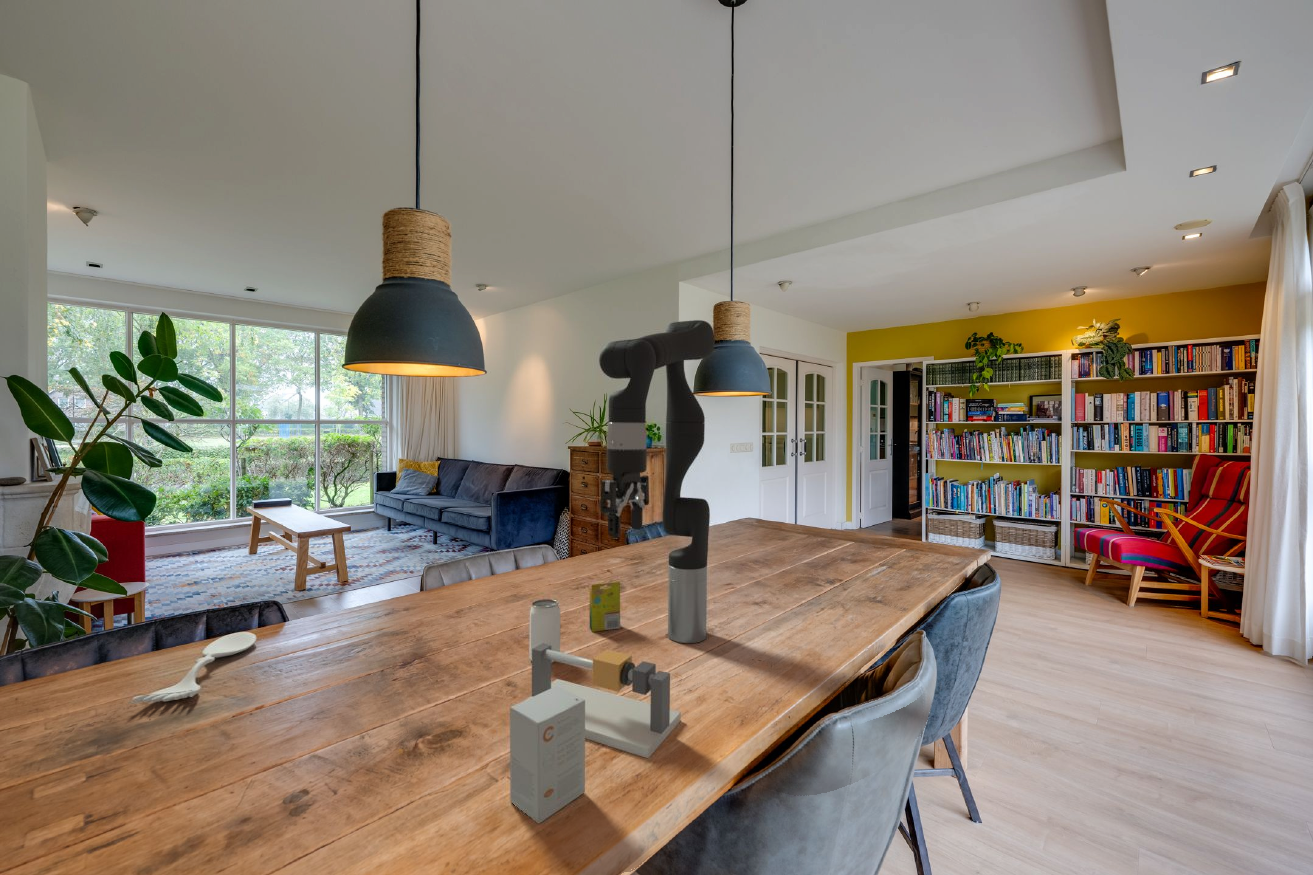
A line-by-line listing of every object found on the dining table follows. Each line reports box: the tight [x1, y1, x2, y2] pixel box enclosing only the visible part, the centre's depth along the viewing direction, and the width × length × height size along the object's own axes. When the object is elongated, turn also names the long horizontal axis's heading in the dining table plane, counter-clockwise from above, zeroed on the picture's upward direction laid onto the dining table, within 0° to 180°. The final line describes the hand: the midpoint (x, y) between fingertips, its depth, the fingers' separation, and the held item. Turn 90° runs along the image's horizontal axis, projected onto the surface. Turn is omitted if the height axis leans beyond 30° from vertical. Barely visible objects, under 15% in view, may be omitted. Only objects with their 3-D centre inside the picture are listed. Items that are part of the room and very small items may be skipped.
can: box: [529, 598, 561, 664], centre depth 117 cm, size 6×6×12 cm
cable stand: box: [525, 643, 682, 759], centre depth 94 cm, size 12×26×11 cm, turn 63°
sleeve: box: [592, 649, 633, 692], centre depth 92 cm, size 4×5×4 cm
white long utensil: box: [131, 631, 258, 704], centre depth 109 cm, size 9×32×4 cm, turn 17°
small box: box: [509, 686, 586, 825], centre depth 73 cm, size 8×6×13 cm
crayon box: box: [589, 581, 621, 633], centre depth 135 cm, size 7×3×12 cm, turn 108°
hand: (625, 532), depth 103 cm, fingers open, 8 cm apart
